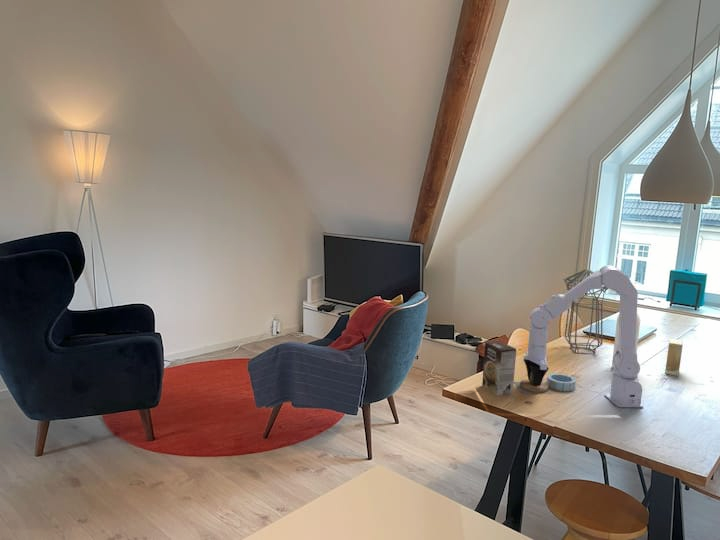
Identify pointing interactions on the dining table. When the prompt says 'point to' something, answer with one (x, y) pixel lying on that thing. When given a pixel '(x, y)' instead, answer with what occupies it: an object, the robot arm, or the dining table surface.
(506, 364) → the coffee box
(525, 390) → the plate
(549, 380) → the bowl
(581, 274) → the geometric lantern
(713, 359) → the dining table surface
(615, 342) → the bottle
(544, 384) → the lid
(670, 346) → the skincare box
